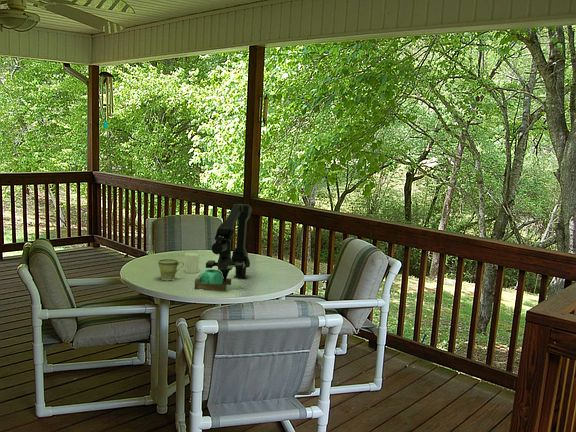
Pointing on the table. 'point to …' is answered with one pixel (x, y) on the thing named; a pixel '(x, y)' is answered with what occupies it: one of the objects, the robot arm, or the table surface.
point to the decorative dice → (212, 277)
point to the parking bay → (211, 285)
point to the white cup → (191, 262)
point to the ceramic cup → (168, 268)
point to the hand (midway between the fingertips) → (225, 281)
